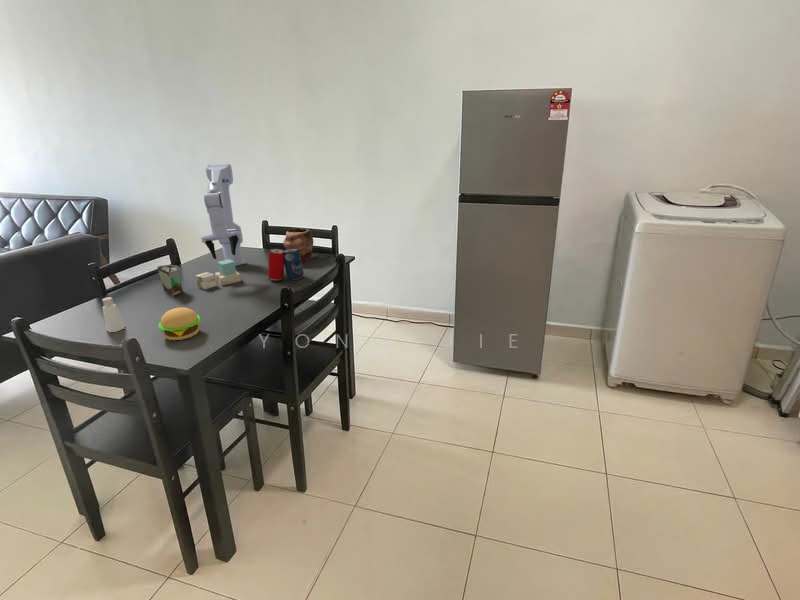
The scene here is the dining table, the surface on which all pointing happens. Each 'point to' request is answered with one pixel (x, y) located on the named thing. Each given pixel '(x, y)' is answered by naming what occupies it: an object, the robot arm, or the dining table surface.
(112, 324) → the pepper shaker
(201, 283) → the maple cube
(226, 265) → the teal cube
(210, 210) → the robot arm
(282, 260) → the beverage can
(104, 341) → the dining table surface
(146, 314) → the dining table surface
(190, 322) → the hamburger
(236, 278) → the beech base
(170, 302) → the dining table surface
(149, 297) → the dining table surface
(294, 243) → the decorative planter
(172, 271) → the food container
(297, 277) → the soda can
